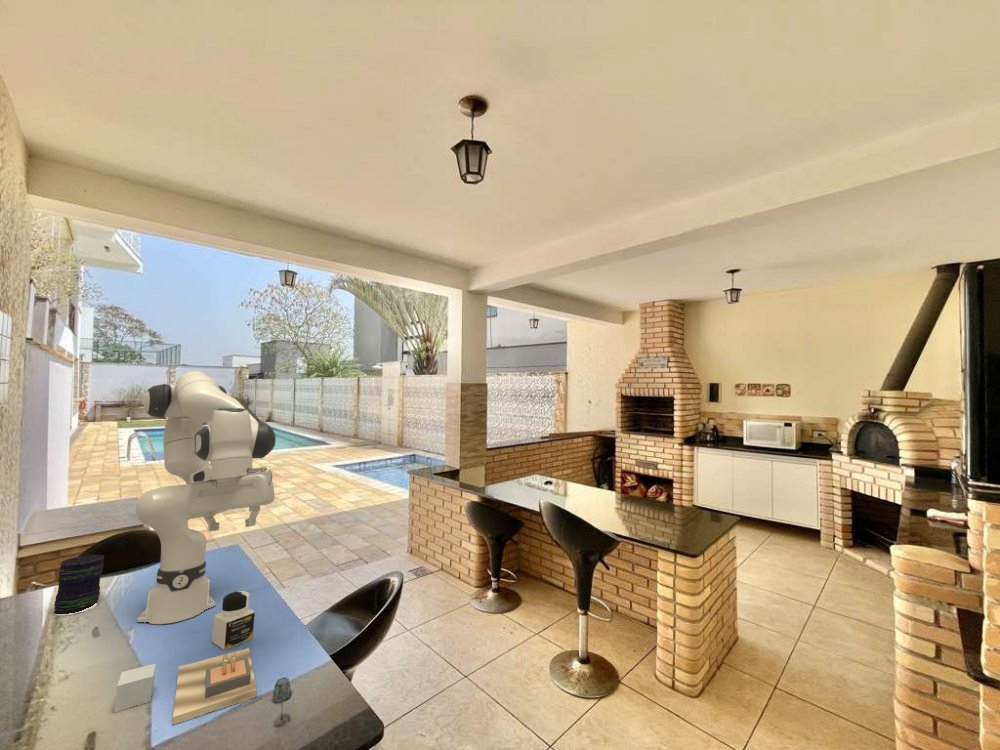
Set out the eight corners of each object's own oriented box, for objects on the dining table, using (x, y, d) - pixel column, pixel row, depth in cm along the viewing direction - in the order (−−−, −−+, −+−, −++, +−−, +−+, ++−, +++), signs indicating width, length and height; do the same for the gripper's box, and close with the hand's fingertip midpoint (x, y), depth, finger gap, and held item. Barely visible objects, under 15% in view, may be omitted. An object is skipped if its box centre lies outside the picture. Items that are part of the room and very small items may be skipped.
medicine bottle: (224, 650, 103) (228, 601, 104) (211, 642, 107) (215, 595, 108) (253, 638, 109) (256, 592, 111) (240, 631, 113) (243, 586, 114)
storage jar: (107, 603, 130) (113, 555, 132) (72, 617, 120) (79, 565, 122) (80, 601, 131) (86, 553, 132) (43, 615, 121) (50, 563, 123)
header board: (178, 673, 93) (181, 643, 94) (248, 654, 102) (250, 626, 102) (172, 725, 77) (175, 688, 78) (255, 697, 86) (258, 664, 86)
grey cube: (118, 697, 85) (121, 672, 86) (153, 687, 88) (155, 663, 89) (113, 712, 81) (117, 685, 81) (150, 701, 84) (153, 676, 85)
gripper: (279, 465, 102) (280, 520, 100) (203, 475, 103) (203, 530, 101) (263, 466, 96) (264, 525, 94) (183, 477, 97) (182, 536, 95)
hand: (232, 528), depth 97 cm, fingers open, 8 cm apart
